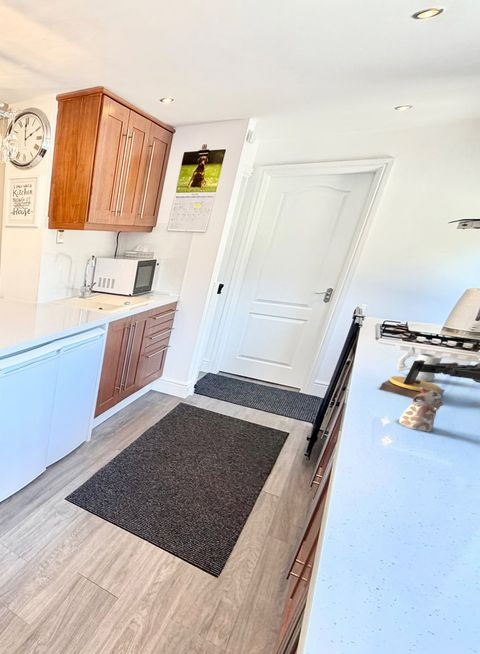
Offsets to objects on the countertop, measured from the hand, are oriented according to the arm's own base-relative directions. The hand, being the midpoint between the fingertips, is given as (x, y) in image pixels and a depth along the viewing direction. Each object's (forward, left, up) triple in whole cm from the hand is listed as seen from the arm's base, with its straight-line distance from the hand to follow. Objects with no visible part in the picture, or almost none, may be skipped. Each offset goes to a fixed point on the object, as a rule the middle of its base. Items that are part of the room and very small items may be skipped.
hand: (420, 367), depth 143 cm
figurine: (-9, +34, -11) cm, 36 cm away
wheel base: (0, -5, -11) cm, 12 cm away
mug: (+5, -32, -11) cm, 35 cm away
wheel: (0, -5, -8) cm, 10 cm away
